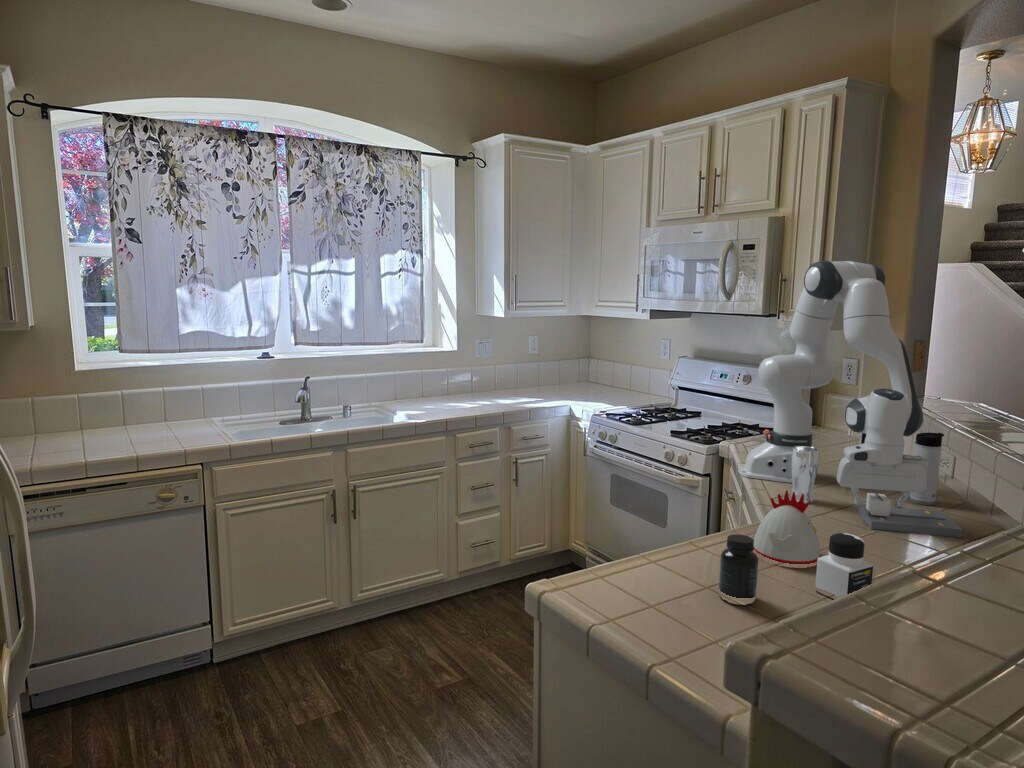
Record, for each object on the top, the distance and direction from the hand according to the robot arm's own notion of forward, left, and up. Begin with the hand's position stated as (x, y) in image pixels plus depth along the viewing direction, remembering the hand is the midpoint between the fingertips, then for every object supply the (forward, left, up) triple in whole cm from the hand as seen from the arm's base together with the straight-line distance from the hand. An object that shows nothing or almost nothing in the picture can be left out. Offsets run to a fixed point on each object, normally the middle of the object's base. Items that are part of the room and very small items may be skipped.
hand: (878, 505), depth 172 cm
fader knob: (0, 0, -2) cm, 2 cm away
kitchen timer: (-26, -31, -4) cm, 41 cm away
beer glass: (-16, +13, -4) cm, 21 cm away
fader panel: (+7, 0, -4) cm, 8 cm away
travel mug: (+17, +21, -4) cm, 27 cm away
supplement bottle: (-38, -56, -4) cm, 68 cm away
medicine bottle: (-18, -49, -4) cm, 52 cm away
